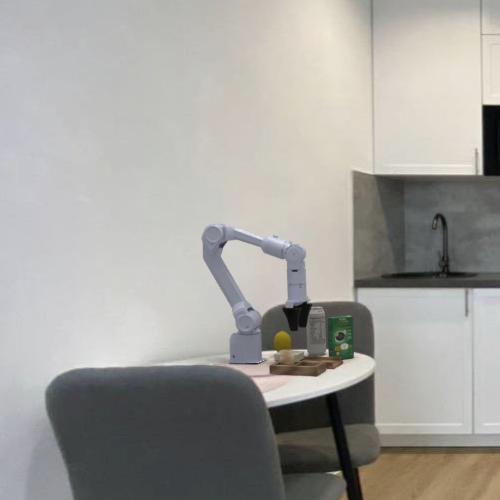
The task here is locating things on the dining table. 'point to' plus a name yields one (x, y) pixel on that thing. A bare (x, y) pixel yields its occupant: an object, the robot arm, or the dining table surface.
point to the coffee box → (340, 337)
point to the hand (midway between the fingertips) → (298, 329)
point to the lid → (297, 355)
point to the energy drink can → (316, 332)
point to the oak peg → (287, 357)
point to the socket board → (298, 368)
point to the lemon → (282, 341)
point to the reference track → (330, 361)
